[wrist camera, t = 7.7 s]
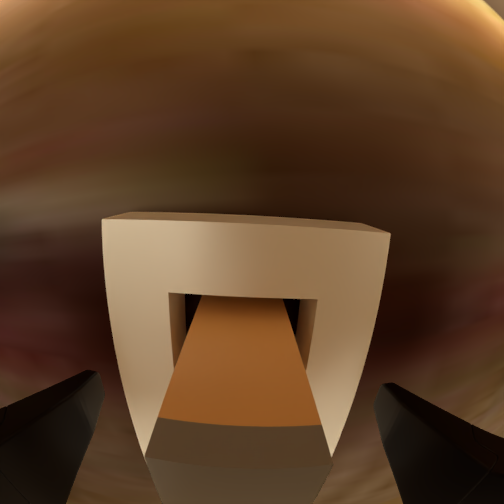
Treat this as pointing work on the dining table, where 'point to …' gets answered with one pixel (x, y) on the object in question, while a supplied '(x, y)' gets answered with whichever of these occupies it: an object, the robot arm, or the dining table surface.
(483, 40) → the dining table surface
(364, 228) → the power strip
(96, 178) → the dining table surface
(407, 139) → the dining table surface
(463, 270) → the dining table surface
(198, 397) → the plug
